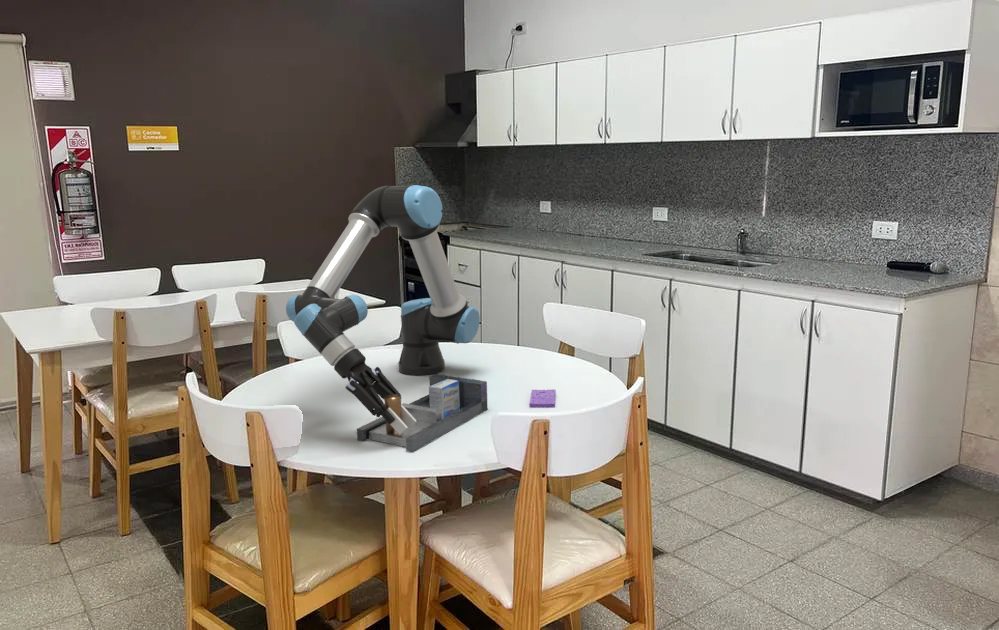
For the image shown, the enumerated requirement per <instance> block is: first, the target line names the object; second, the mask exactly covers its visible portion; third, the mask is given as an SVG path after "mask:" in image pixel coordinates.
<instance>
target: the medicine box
mask: <svg viewBox="0 0 999 630" xmlns="http://www.w3.org/2000/svg"><path fill="white" fill-rule="evenodd" d="M428 394H429V398H430V408H434V409H440V410H441V412H442V419H443V418H445V417H447V416H449V415H451V414H452V413H454V412H456V411H458V410H460V399H459V381H456V380H451V379H446V380H444V381H441V382H439V383H437V384H434V385H432V386H430V387H429V386H428Z"/></svg>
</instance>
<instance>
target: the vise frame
mask: <svg viewBox="0 0 999 630" xmlns="http://www.w3.org/2000/svg"><path fill="white" fill-rule="evenodd" d="M446 379H451V380H456V381H459V399H460V410H458V411H456V412H454V413H452V414H451V415H449V416H447V417H445V418H443V419H441V420H439V421H438V422H436V423H434V424H432V425H430V426H428V427H426V428H425V429H423V430H421V431H419V432H417V433H415V434H413V435H412V436H410V437H408V438H406V447H405V448H406V449H405V451H406V452H410V453H413V452H416V451H418V450H419V449H421V448H424V446H426V445H428V444H430V443H432V442H434V441H435V440H437V439H438V438H440V437H442V436H444V435H446V434H448V433H450V432H451V431H453V430H455V429H456V428H458V427H459V426H461V425H463V424H465V423H467V422H468V421H470V420H472V419H474V418H475V417H477V416H479V415H481V414H482V413H484V412H486V411H488V410H489V409H488V384H487V383H488V381H486V380H480V379H474V378H473V379H472V378H466V377H458V376H451V375H445V374H438V373H433V374H431V375H430V376H429V377H428V383H429V385H428V388H429V387H430V386H432V385H434V384H437V383H439V382H441V381H444V380H446ZM409 404H411V405H417V406H422V407H428V408H430V398H429V393H428V394H427V395H424V396H423V397H420V398H418V399H416V400H414V401H412V402H410V403H409ZM385 423H386V420H385V419H384V418H383V417H382V416H380V417H377V418H376V419H375V420H372V421H370V422H368V423H365V424H363V425H362V426H360V427H358V428H356V436H357V437H356V438H357V439H356V440H357V441H359V442H366V441H368V440H370V439H369V431H371V430H373V429H375V428H377V427H379V426H381V425H383V424H385Z"/></svg>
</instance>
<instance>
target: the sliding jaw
mask: <svg viewBox="0 0 999 630" xmlns="http://www.w3.org/2000/svg"><path fill="white" fill-rule="evenodd" d="M383 400H384V401H383V403H384V404H385V405H386V407H387V409H388V408H389V407H390V408H391V409H392V410H393V411H394V412H395V414H396V415H397V416H398V417H399V418H400V419H401V420H402V408H401V404H402V405H403V406H404V407H405V408H406V409H407V411H408V412H409V413H410V414H411V415H412V416H413V417H414V418H415V419H416V422H415V423H414V424H413V425H412V426H411V427H410V428H407V429H406V430H405V431H404V432H403V433H402V434H401V435H399V434H398V433H397V431H396V430H395V429H394V428H393V427H392V426H391V425H390V424H389V423H388V422H387V421H386V423H385V424H383V425H381V426H379V427H377V428H375V429H373V430H371V431H369V439H368V440H372V441H376V442H382V443H386V444H391V445H395V446H400V447H405V448H406V438H408V437H410V436H412V435H413V434H415V433H417V432H419V431H421V430H423V429H425V428H426V427H428V426H430V425H432V424H434V423H436V422H438V421H439V420H441V419H442V412H441V410H440V409H434V408H428V407H422V406H417V405H411V404H410V403H405V402H402V395H401V396H400V395H397V394H391V395H387V396H385V397H384V399H383Z"/></svg>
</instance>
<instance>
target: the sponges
mask: <svg viewBox="0 0 999 630" xmlns="http://www.w3.org/2000/svg"><path fill="white" fill-rule="evenodd" d="M556 394H557V393H556V389H553V388H552V389H531V392H530V399H529V404H528V405H529V406H528V407H529V408H531V409H534V408H535V409H539V408H541V409H542V408H543V409H544V408H545V409H546V408H548V409H550V408H552V409H553V408H555V406H556Z"/></svg>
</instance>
